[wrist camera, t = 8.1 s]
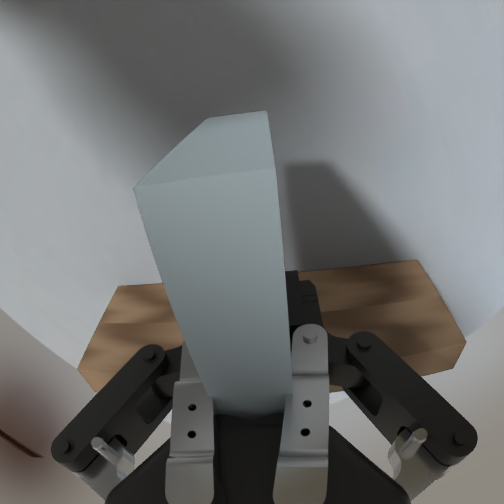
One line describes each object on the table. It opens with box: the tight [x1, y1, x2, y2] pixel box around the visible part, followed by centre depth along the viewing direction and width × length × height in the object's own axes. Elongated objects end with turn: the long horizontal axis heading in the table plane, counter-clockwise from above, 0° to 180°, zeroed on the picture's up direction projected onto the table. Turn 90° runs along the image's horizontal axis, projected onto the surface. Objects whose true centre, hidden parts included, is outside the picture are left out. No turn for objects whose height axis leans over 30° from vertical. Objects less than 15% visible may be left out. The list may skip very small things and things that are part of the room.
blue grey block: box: [133, 110, 293, 420], centre depth 13 cm, size 16×2×8 cm, turn 7°
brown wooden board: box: [77, 260, 466, 393], centre depth 18 cm, size 22×2×8 cm, turn 97°
